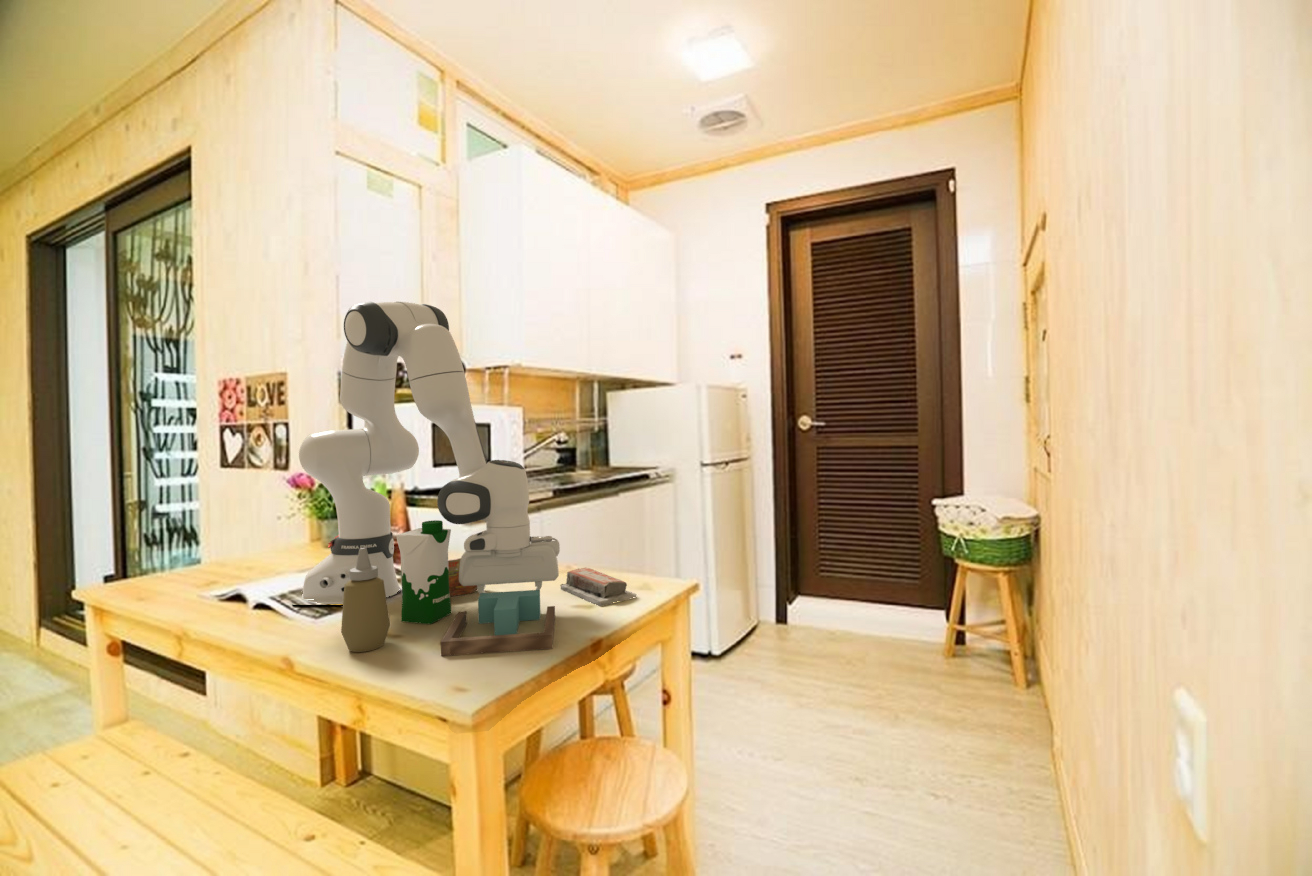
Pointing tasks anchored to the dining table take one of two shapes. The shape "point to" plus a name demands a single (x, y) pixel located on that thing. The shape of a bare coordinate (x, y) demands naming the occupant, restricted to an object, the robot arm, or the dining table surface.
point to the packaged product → (596, 587)
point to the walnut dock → (495, 638)
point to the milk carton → (425, 573)
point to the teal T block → (508, 609)
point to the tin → (457, 580)
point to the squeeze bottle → (364, 607)
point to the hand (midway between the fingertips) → (510, 603)
